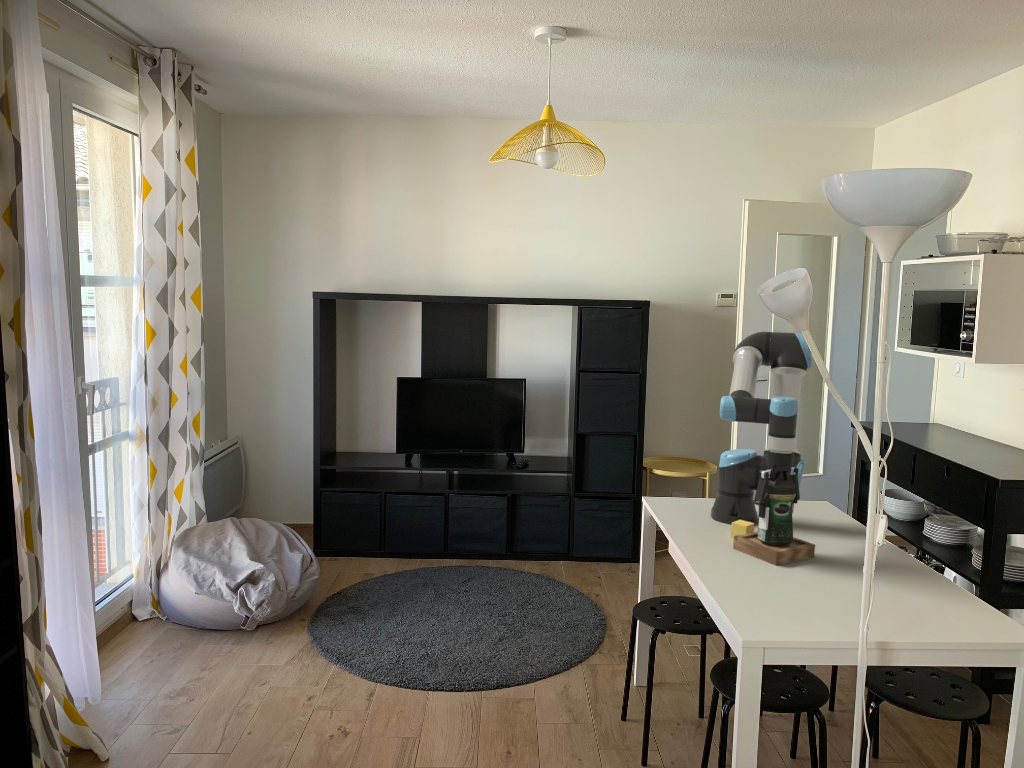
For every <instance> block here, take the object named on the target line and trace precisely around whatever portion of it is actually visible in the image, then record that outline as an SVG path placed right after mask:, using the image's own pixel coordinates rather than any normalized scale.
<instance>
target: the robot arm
mask: <svg viewBox="0 0 1024 768" xmlns="http://www.w3.org/2000/svg"><path fill="white" fill-rule="evenodd" d="M802 334H803V333H801V332H800V333H799V332H796V331H795V332H780V331H779V332H776V331H774V332H773V331H757V332H755V333H752V334H750V335H747V336H746V337H745V338H743V339H742V340H741V341H740V342H739V343H738V344H737V345H736V347H735V349H734V351H733V355H732V362H733V364H734V367H733V373H732V377H731V384H730V389H729V394H728V395H723V396H722V397H721V399H720V405H719V407H720V408H719V417H720V419H721V420H723V421H729V422H733V423H734V422H737V423H738V422H739V423H752V424H753V423H755V424H763V425H768V434H767V436H768V438H767V447H766V448H764V450H763V455H761V454H760V455H758V452H757V451H756V450H755V449H748V448H736V449H729V450H726V451H723V452H722V453H721V454H720V456H719V457H720V459H719V465H718V468H719V470H718V471H719V472H718V483H717V484H718V485H717V495H716V497H715V500H714V503H713V506H712V507H711V510H710V517H711V519H713V520H715V521H718V522H721V523H726V524H730V525H732V522H735V521H738V520H743V521H747V522H751V523H755V524H756V523H757V522H758V528H762V529H765V530H768V518H769V507H767V505H768V503H769V501H770V493H766V490H767V486H768V482H769V480H772V481H774V482H771V483H772V484H773V485H777V484H778V483H779V482H780V481H783V480H787V481H792V482H794V483H795V490H796V496H795V498H794V501H793V506H792V514H793V513H794V509H795V508H794V507H795V504H796V505H797V504H798V503H799V501H800V499H801V494H800V488H801V482H802V479H803V475H804V474H803V473H804V467H805V463H806V460H805V459H803V458H801V457H802V454H801V452H800V451H799V450H798V449H797V446H798V445H797V443H798V431H799V430H798V429H799V416H800V401H801V389H802V388H801V386H802V378H803V377H804V376H805V375H806V374H807V370H809V369H811V368H812V360H813V359H812V350H811V351H810V349H809V347H808V345H807V343H806V341H805V339H804V336H803V335H802ZM761 366H764V367H769V368H770V369H769V371H770V374H771V375H773V390H772V392H773V393H772V398H759V397H757V398H756V397H755V394H756V388H757V380H758V372H759V368H760V367H761ZM754 494H755V495H754ZM763 502H764V503H763ZM756 506H758V512H757V509H756Z"/></svg>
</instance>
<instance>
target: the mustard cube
mask: <svg viewBox="0 0 1024 768" xmlns="http://www.w3.org/2000/svg"><path fill="white" fill-rule="evenodd" d="M755 524H756V523H751V522H747V521H743V520H738V521H735V522H732V524H730V525H731V526H730V528H731V529H730V539H732V540H734V536H737V535H742V534H748V533H754V532H755Z"/></svg>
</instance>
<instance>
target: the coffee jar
mask: <svg viewBox="0 0 1024 768" xmlns="http://www.w3.org/2000/svg"><path fill="white" fill-rule="evenodd" d="M771 482H774V481H772V480H769V482H768V486H767V490H766V493H770V501H769V503H768V505H767V507H769V518H768V530H765V529H762V528H759V527H757V528H758V529H757V532H758V539H759V540H760V541H761V542H764V543H767V544H772V545H783V544H791V543H792V542H793V537H794V527H793V526H794V525H793V513H792V506H793V501H794V498H795V496H796V490H795V483H794V482H792V481H787V480H783V481H780V482H779V483H778V484H777V485H773V484H772V483H771ZM763 503H764V502H763Z"/></svg>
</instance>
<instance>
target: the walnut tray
mask: <svg viewBox="0 0 1024 768" xmlns="http://www.w3.org/2000/svg"><path fill="white" fill-rule="evenodd" d="M732 543H733V547H732V548H733V549H734V550H737V551H738V552H741V553H743V554H746V555H749V556H752V557H753V558H756V559H759V560H760V561H761V560H762V561H764V562H766V563H769V564H771V565H773V566H779V565H784V564H785V565H786V564H789V563H793V562H798V561H803V560H808V559H812V558H815V551H816V544H815V543H812V542H809V541H806V540H803V539H801V538H797V537H794V536H793V542H792V543H791V544H783V545H772V544H767V543H764V542H761V541H760V540H759V539H758V531H754V533H748V534H742V535H737V536H734V539H733V542H732Z"/></svg>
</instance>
